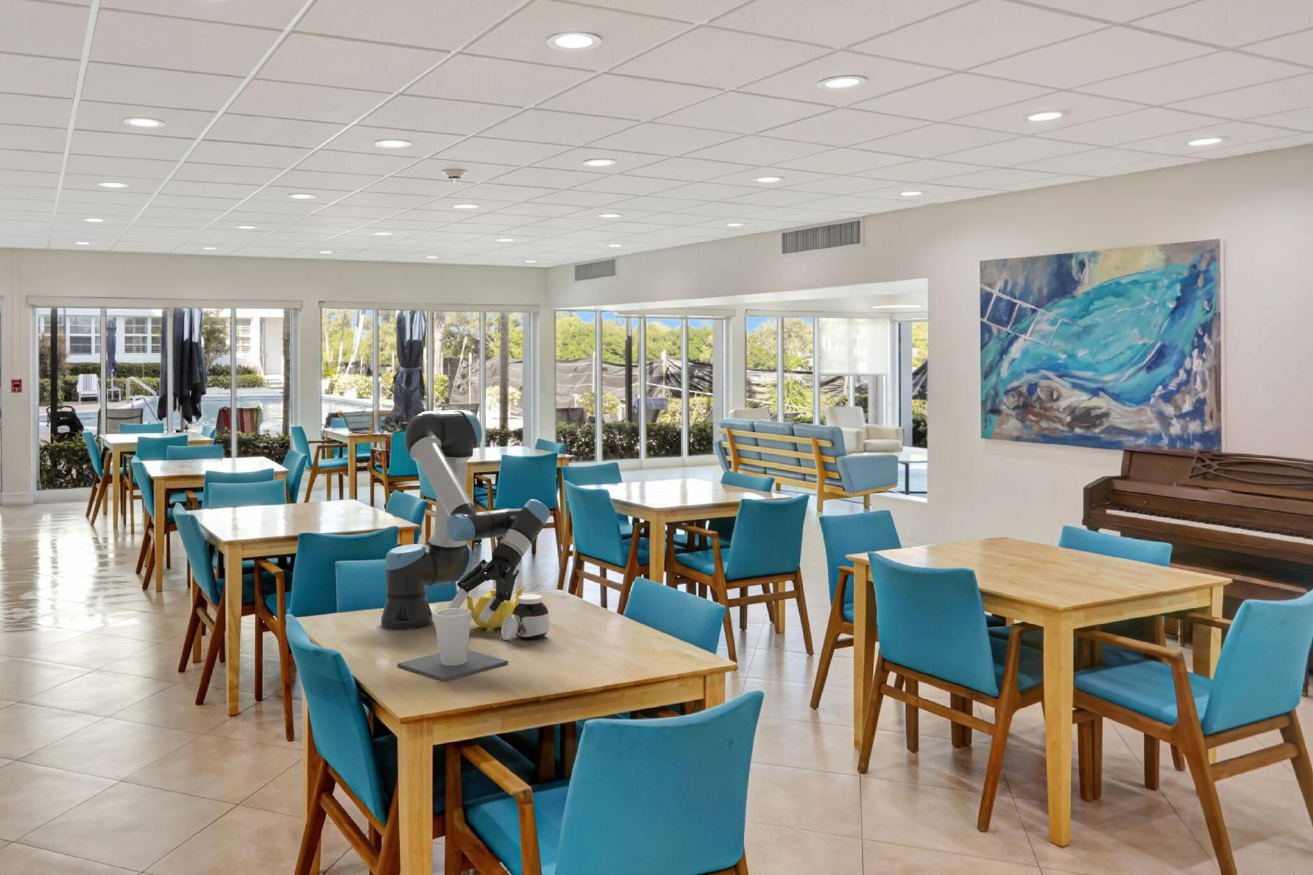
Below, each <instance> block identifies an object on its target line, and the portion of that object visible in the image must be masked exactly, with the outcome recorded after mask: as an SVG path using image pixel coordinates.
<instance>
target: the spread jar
mask: <svg viewBox="0 0 1313 875" xmlns="http://www.w3.org/2000/svg"><path fill="white" fill-rule="evenodd" d="M518 602H519V604H518V605H517V606H516V607H515V608H514V610H513V614H512V616H507V617H506V618H505V620H504V622H503V624H502V627H500V628H501V630H500V633H501V634H500V636H501V637H502V639H503V640H504V641H505V640H506V641H511V640H513V639H514V637H517V638H518V639H519V640H522V641H536V640H540V639H543V638H544V637H545V636H546V635H547V634H548V632H549V630H550V613H549V610H548V608H547V606H546V604H545V603H544V602H543V595H541V594H533V593H532V594H523V595H522V594H521V596H519V597H518Z"/></svg>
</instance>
